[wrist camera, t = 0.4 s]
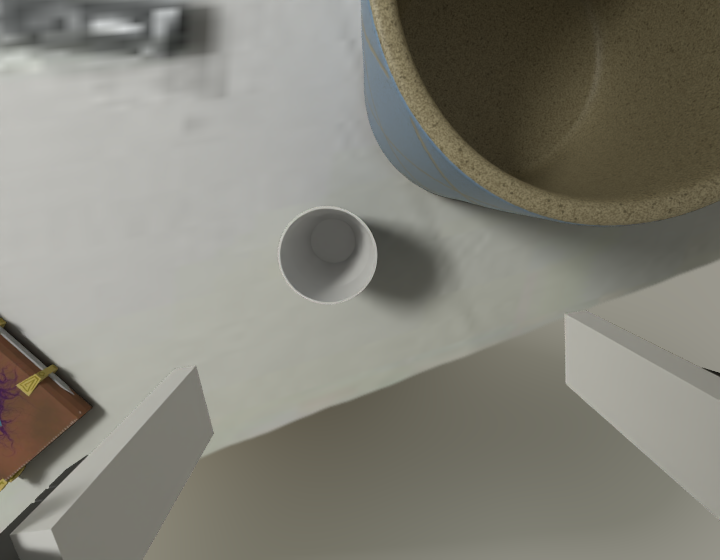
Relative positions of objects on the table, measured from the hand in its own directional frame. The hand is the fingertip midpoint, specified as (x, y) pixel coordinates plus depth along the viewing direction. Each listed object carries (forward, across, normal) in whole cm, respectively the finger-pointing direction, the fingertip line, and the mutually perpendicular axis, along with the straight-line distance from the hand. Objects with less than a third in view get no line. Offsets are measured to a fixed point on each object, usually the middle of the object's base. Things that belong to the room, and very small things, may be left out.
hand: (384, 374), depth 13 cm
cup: (+28, -3, +2) cm, 28 cm away
